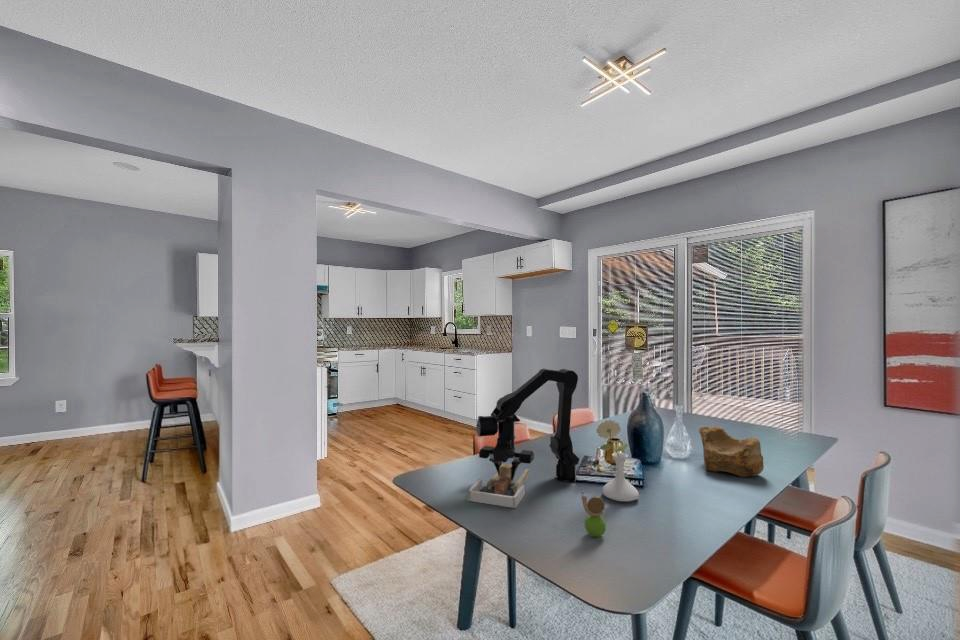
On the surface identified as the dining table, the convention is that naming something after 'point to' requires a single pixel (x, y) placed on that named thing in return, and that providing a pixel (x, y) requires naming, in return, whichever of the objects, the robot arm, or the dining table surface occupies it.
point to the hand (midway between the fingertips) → (506, 478)
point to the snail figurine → (594, 516)
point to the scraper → (506, 473)
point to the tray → (494, 496)
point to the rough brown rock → (730, 453)
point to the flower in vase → (619, 485)
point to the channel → (517, 484)
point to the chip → (500, 487)
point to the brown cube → (505, 481)
